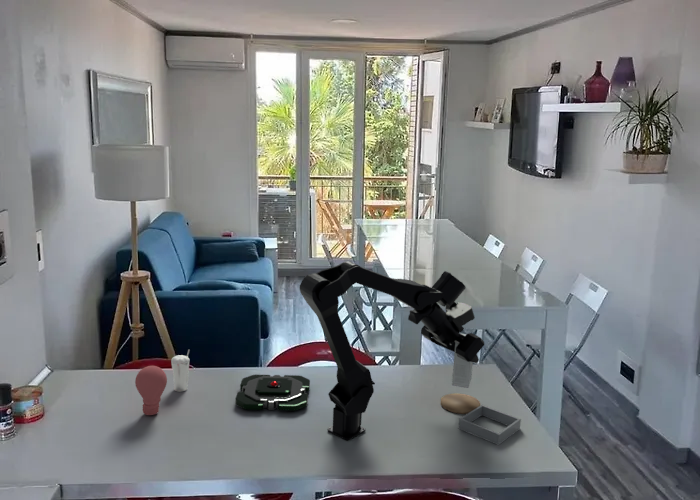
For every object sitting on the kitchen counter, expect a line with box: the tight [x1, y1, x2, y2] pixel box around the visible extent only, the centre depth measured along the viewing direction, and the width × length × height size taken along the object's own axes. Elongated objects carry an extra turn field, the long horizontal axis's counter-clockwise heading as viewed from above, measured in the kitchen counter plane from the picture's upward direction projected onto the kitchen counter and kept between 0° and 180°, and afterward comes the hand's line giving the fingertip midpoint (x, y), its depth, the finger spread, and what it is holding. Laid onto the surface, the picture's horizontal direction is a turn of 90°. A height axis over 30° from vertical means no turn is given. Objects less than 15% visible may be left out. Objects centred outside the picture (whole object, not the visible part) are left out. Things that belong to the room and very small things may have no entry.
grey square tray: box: [457, 404, 522, 446], centre depth 149 cm, size 10×10×2 cm
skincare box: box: [451, 333, 474, 389], centre depth 159 cm, size 6×4×12 cm
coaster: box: [440, 393, 481, 415], centre depth 161 cm, size 10×10×1 cm
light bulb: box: [134, 365, 168, 416], centre depth 149 cm, size 7×7×12 cm
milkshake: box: [170, 349, 191, 393], centre depth 163 cm, size 4×5×10 cm
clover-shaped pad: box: [234, 374, 311, 412], centre depth 162 cm, size 18×18×5 cm
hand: (468, 356), depth 159 cm, fingers closed on skincare box, 7 cm apart
